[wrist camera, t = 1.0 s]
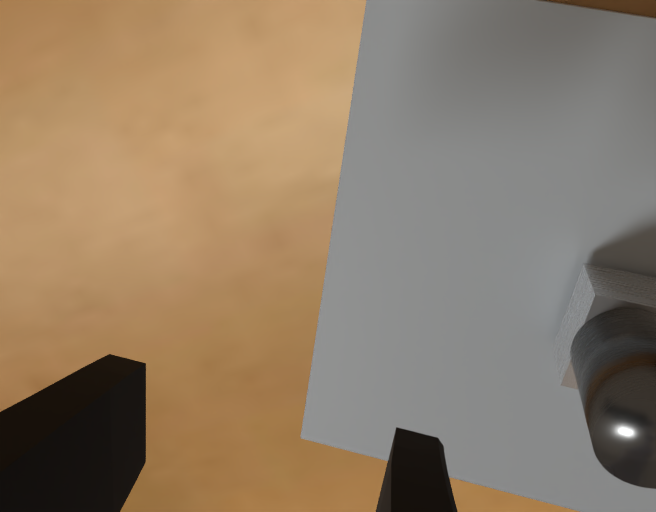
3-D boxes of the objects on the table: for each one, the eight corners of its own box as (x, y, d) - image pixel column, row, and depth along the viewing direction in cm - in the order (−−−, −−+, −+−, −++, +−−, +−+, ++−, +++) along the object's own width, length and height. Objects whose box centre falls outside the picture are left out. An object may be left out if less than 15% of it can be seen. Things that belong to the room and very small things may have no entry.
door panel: (770, 530, 18) (826, 636, 15) (310, 413, 20) (282, 487, 17) (1069, 81, 12) (1252, 115, 9) (378, -26, 14) (354, -25, 11)
